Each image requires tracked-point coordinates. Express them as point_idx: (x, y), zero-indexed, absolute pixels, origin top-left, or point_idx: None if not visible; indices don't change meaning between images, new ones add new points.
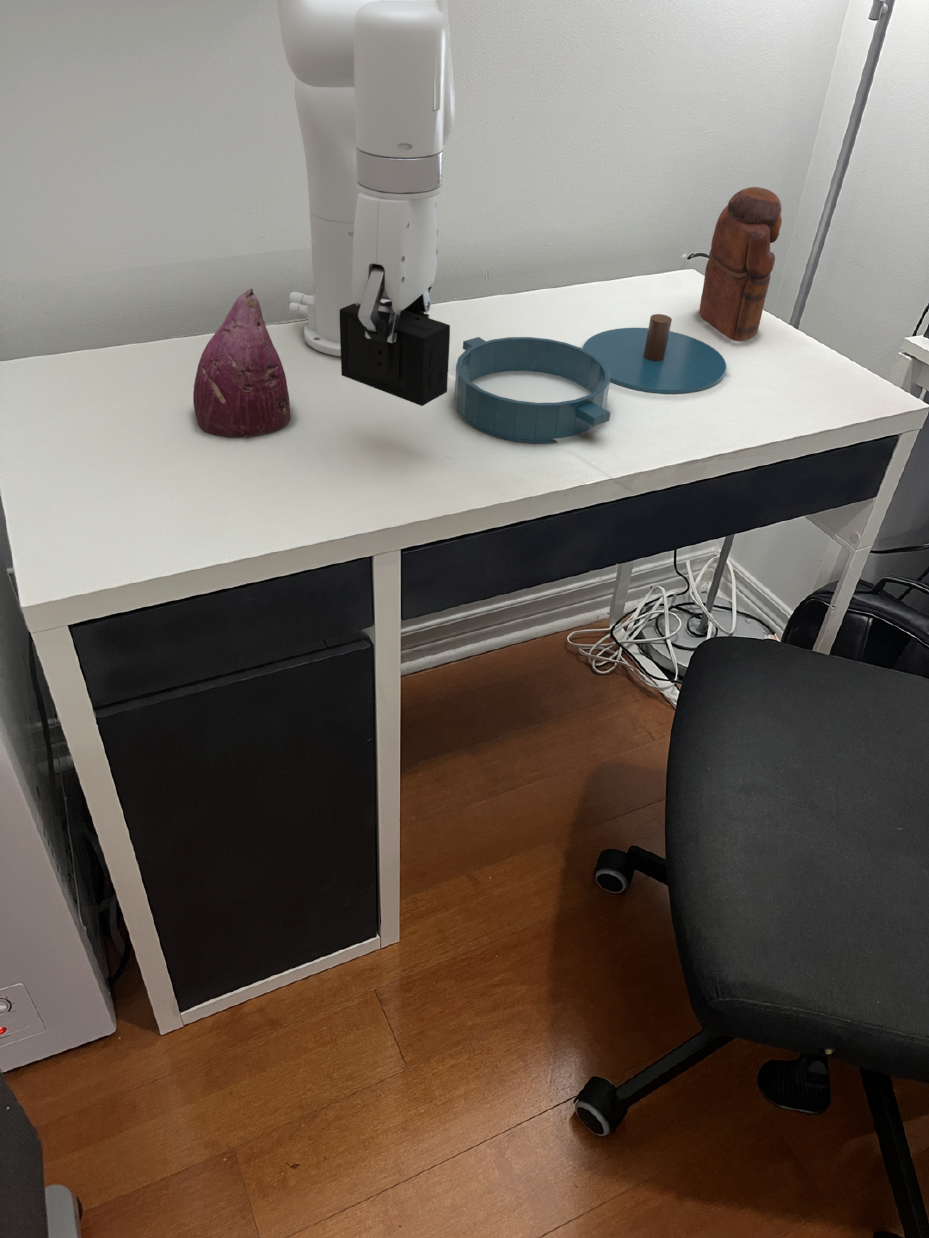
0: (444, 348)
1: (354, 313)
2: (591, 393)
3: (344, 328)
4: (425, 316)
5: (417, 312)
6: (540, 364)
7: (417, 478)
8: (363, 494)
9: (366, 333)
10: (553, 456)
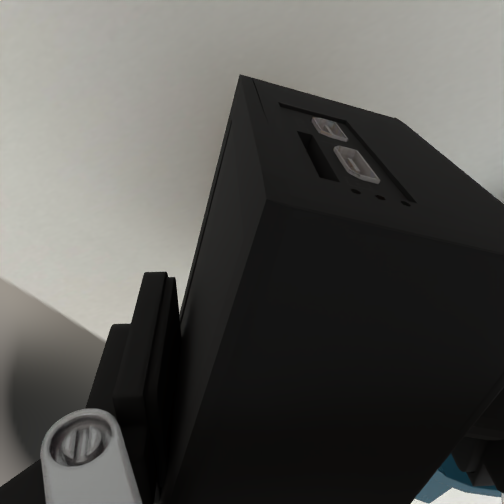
0: None
1: (237, 331)
2: (478, 488)
3: (242, 185)
4: (473, 479)
5: (493, 464)
6: None
7: (169, 255)
8: (48, 187)
9: (42, 453)
10: None
